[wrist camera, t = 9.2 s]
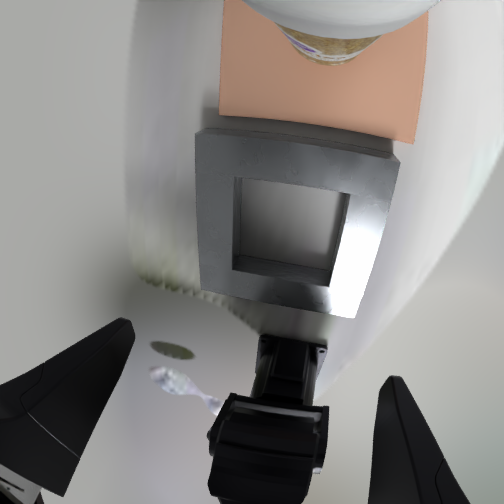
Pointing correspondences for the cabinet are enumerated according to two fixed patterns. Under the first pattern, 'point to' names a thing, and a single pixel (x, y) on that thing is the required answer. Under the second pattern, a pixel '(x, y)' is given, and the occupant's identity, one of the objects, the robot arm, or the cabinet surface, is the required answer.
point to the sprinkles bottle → (338, 24)
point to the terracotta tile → (322, 78)
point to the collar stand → (299, 173)
